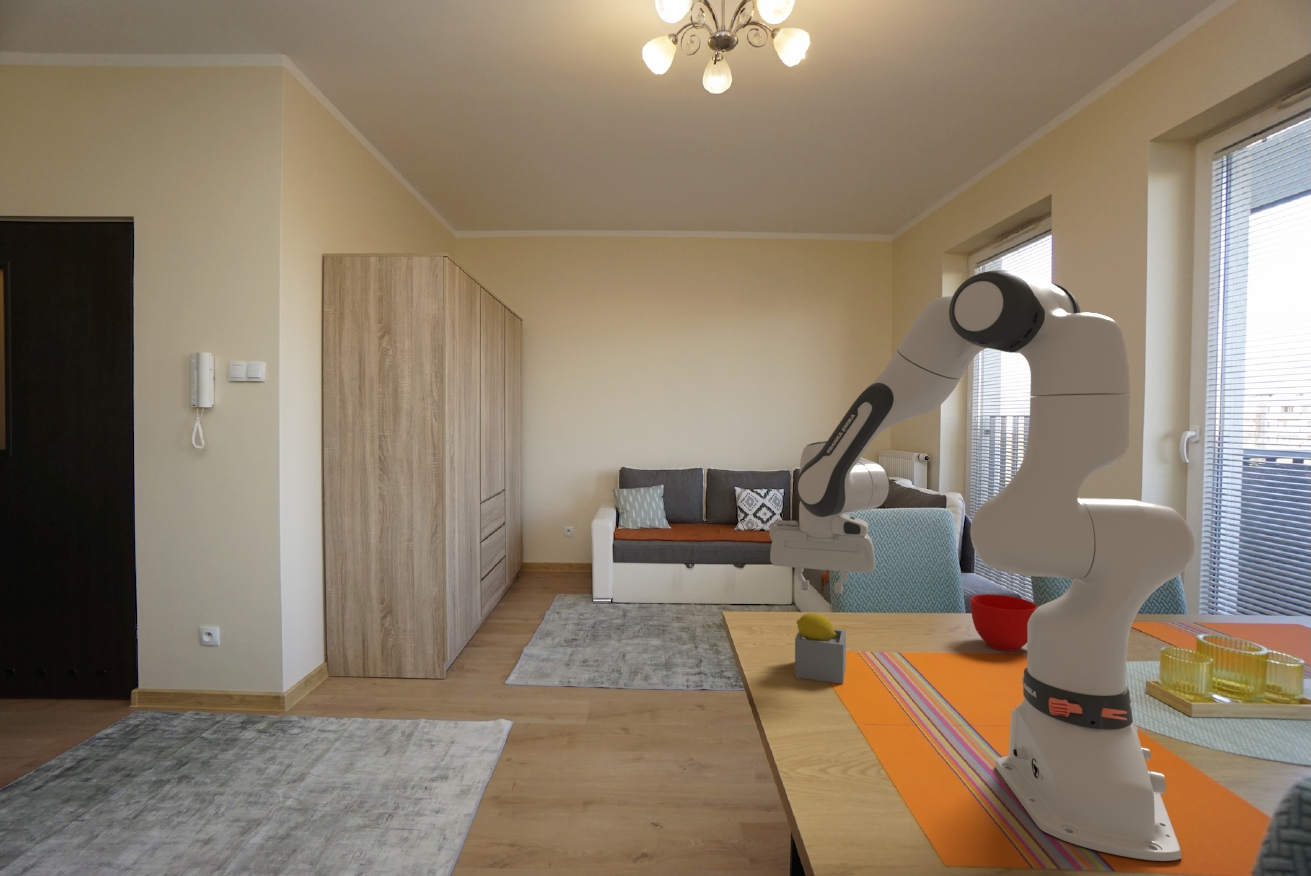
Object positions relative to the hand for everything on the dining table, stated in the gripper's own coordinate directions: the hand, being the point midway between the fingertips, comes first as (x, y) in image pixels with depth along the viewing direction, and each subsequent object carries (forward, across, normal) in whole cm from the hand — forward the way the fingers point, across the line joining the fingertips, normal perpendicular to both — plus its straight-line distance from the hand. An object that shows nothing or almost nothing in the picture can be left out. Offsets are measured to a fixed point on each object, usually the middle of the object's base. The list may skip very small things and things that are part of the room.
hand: (821, 591), depth 120 cm
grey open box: (+16, 0, 0) cm, 16 cm away
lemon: (+9, +3, 0) cm, 9 cm away
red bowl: (+16, +39, +30) cm, 52 cm away
